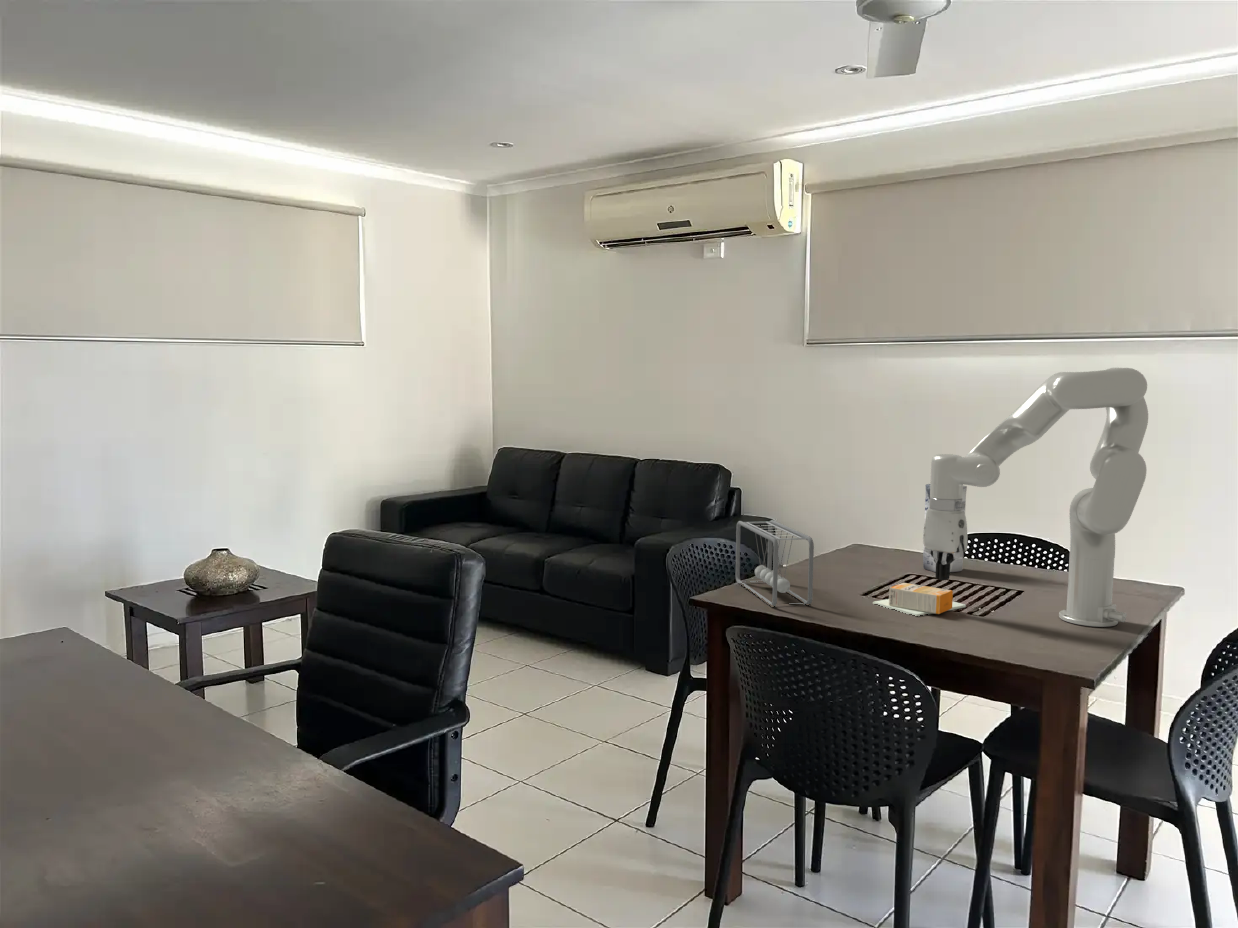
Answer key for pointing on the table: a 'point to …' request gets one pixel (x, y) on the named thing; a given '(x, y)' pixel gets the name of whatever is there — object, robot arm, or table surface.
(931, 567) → the juice carton
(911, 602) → the supplement box
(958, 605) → the mat
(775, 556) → the newton's cradle
